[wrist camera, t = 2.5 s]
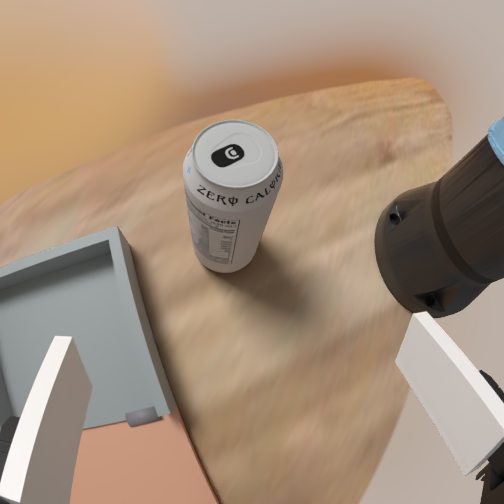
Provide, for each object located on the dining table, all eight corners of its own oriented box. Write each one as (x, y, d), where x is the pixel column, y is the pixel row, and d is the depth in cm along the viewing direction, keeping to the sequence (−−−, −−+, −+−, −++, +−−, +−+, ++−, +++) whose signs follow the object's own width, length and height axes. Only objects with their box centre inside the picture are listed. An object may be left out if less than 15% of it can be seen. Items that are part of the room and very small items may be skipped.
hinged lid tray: (129, 244, 30) (117, 225, 26) (224, 512, 22) (226, 534, 18) (-10, 291, 26) (-33, 280, 22) (67, 532, 19) (51, 549, 14)
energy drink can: (267, 254, 31) (310, 168, 17) (214, 287, 30) (216, 218, 16) (233, 207, 33) (250, 100, 19) (182, 236, 31) (162, 137, 17)
